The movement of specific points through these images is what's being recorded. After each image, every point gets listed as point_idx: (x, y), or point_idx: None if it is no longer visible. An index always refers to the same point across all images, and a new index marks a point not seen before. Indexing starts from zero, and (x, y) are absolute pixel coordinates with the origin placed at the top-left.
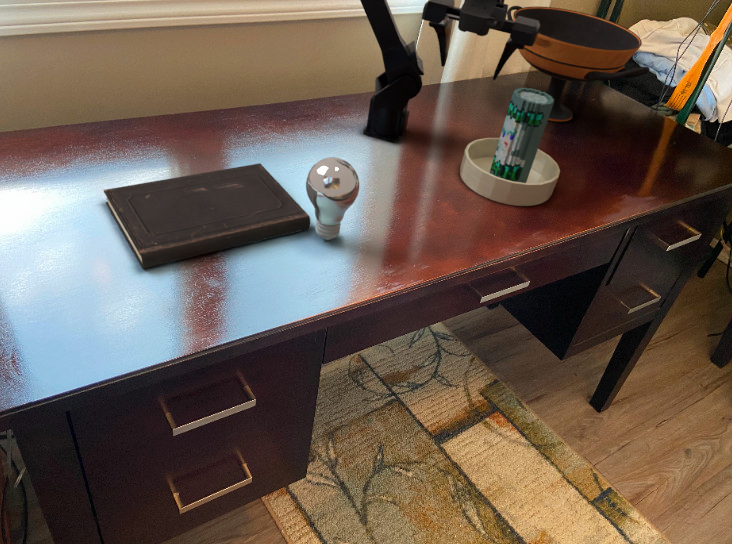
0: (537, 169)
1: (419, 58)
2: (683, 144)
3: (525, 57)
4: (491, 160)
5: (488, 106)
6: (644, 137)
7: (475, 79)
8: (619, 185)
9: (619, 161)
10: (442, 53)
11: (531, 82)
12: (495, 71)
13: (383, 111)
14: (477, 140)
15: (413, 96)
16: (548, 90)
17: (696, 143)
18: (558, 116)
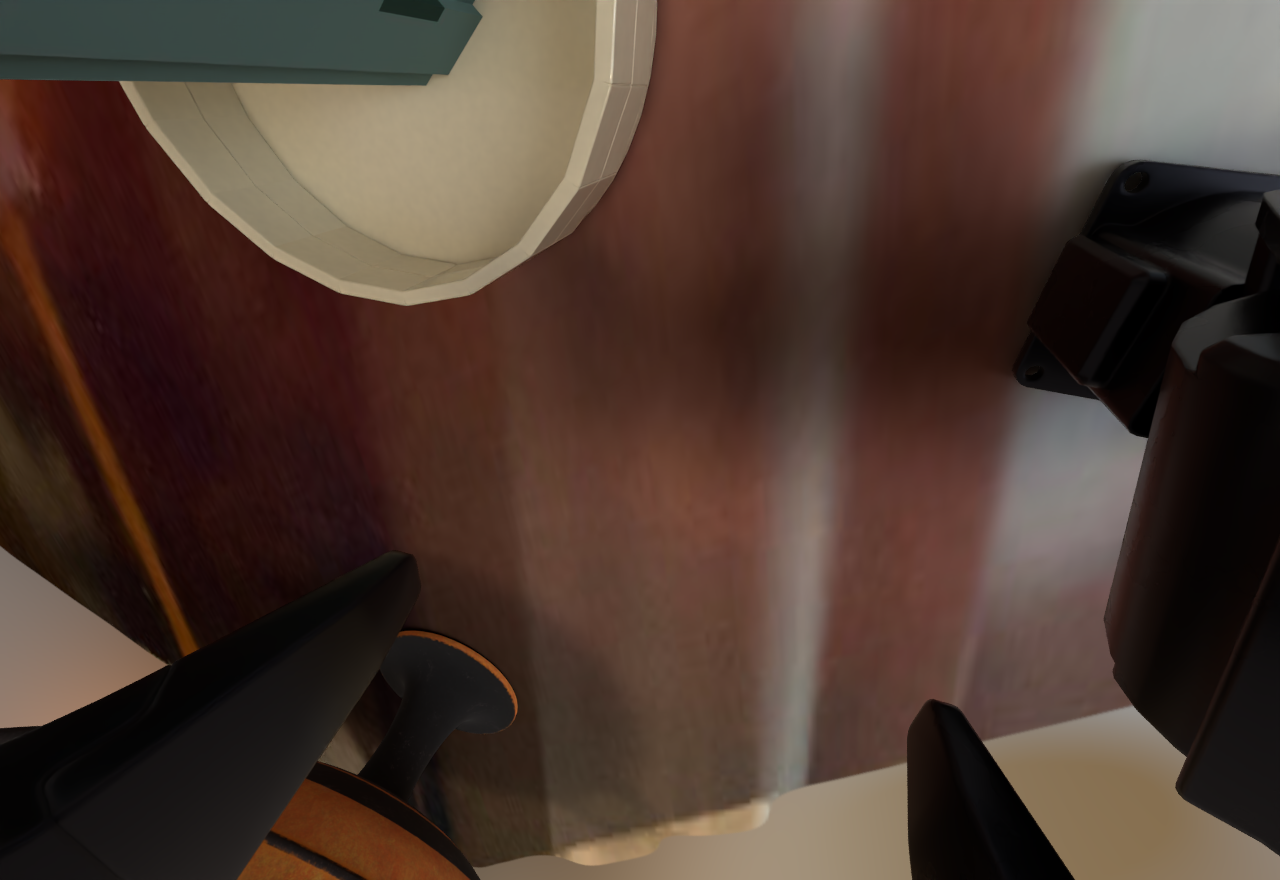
0: (311, 200)
1: (1270, 818)
2: (131, 593)
3: (448, 874)
4: (516, 204)
5: (622, 678)
6: (205, 603)
7: (687, 816)
8: (90, 266)
9: (177, 445)
10: (1034, 866)
11: (533, 811)
12: (344, 603)
13: None
14: (566, 184)
15: (1212, 314)
16: (426, 744)
17: (117, 605)
18: (406, 651)
